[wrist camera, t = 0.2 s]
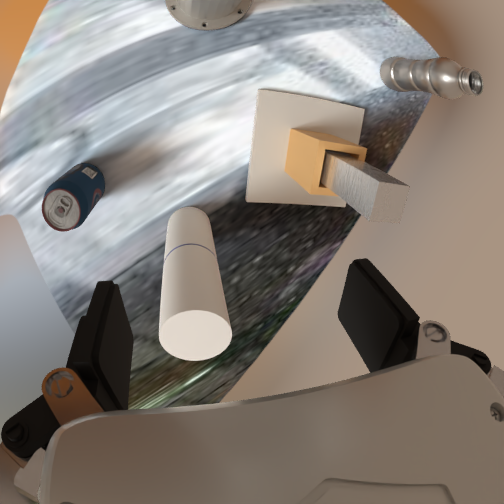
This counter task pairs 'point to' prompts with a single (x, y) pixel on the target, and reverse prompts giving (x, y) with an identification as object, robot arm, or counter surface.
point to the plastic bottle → (431, 77)
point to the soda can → (73, 197)
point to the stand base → (298, 147)
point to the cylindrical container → (192, 290)
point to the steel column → (364, 187)
